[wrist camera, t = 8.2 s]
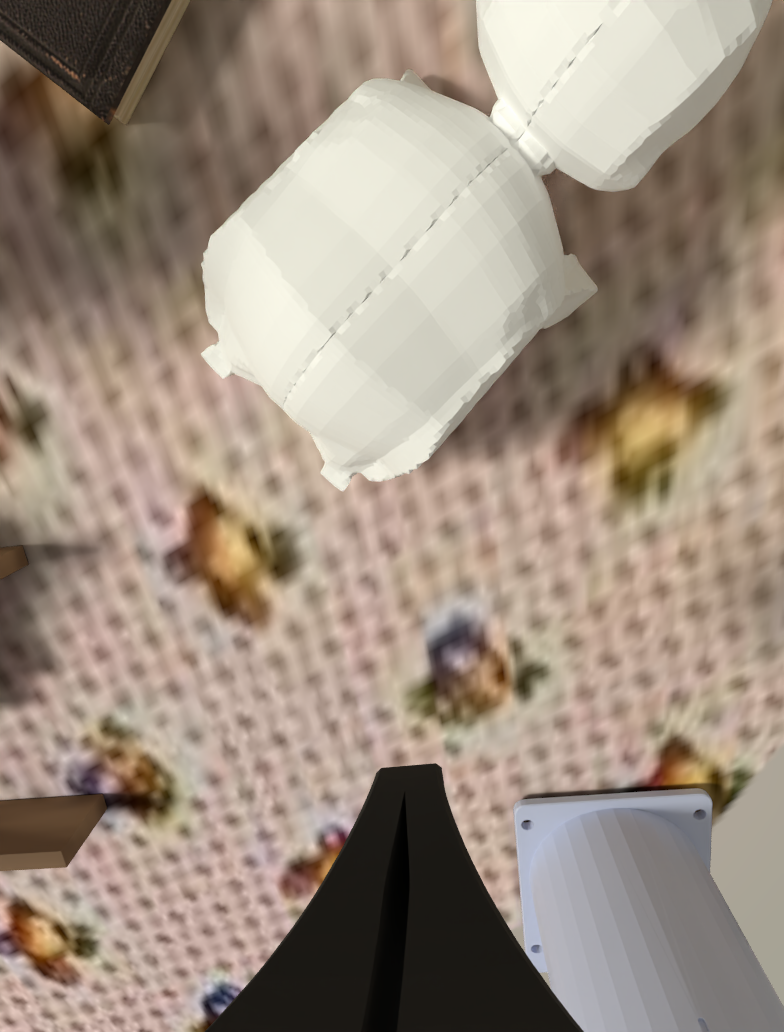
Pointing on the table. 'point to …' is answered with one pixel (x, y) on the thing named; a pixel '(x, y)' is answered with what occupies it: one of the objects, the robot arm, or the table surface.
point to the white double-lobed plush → (451, 219)
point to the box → (43, 804)
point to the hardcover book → (93, 46)
